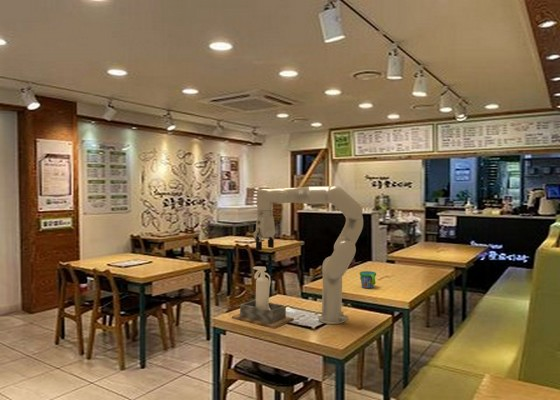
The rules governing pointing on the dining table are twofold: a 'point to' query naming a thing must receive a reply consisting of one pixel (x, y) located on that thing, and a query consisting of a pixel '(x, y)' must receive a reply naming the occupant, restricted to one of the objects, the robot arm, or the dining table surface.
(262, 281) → the fire extinguisher
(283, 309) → the caddy
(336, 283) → the robot arm
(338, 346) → the dining table surface
